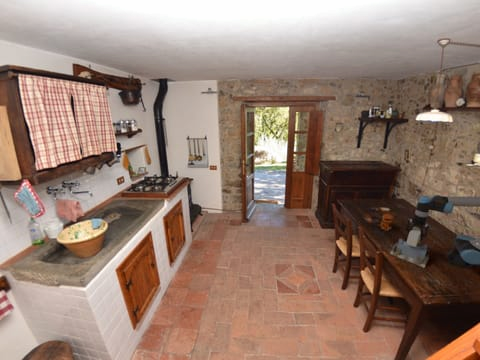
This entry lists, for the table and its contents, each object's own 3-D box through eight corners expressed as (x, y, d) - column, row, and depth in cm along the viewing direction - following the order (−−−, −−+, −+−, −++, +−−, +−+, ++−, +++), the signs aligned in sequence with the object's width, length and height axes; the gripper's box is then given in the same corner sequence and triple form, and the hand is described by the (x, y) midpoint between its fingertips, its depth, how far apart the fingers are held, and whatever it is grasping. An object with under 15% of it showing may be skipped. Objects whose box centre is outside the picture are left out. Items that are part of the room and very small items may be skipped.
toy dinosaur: (385, 232, 212) (389, 216, 207) (376, 227, 222) (379, 211, 217) (394, 231, 215) (398, 215, 210) (384, 226, 225) (388, 210, 220)
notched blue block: (423, 257, 175) (427, 243, 171) (423, 262, 170) (427, 247, 166) (396, 248, 186) (400, 235, 182) (395, 252, 181) (399, 239, 177)
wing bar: (419, 240, 176) (422, 229, 173) (415, 247, 167) (418, 235, 164) (410, 237, 181) (413, 226, 177) (406, 243, 172) (409, 232, 169)
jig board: (428, 259, 175) (430, 252, 173) (424, 268, 165) (426, 261, 163) (395, 246, 191) (397, 240, 190) (389, 253, 181) (391, 247, 180)
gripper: (437, 218, 162) (429, 244, 169) (407, 209, 176) (400, 234, 183) (436, 221, 157) (427, 248, 165) (404, 212, 171) (398, 237, 178)
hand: (413, 240), depth 174 cm, fingers closed on wing bar, 6 cm apart
